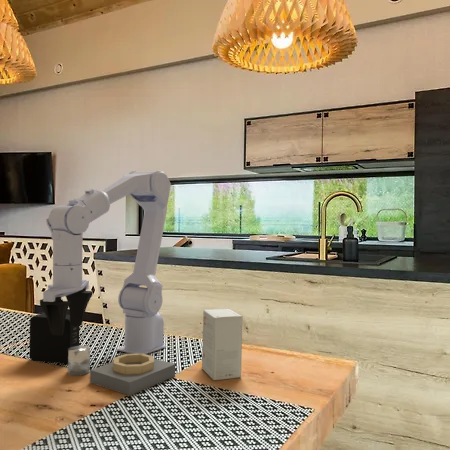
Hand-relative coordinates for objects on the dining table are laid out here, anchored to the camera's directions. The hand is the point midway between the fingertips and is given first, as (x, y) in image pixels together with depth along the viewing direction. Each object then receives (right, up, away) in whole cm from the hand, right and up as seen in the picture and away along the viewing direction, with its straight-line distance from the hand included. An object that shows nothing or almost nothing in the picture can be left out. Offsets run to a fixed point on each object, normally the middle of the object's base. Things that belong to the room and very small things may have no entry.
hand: (67, 330), depth 95 cm
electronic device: (-6, -9, +10) cm, 15 cm away
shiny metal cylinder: (+2, -10, +2) cm, 10 cm away
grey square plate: (+14, -10, -1) cm, 17 cm away
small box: (+32, -10, +4) cm, 33 cm away
